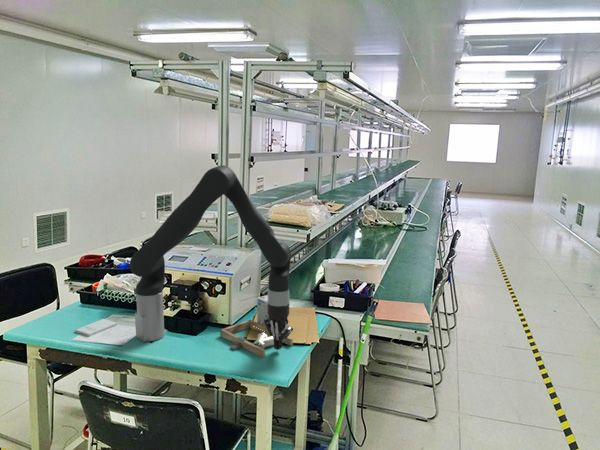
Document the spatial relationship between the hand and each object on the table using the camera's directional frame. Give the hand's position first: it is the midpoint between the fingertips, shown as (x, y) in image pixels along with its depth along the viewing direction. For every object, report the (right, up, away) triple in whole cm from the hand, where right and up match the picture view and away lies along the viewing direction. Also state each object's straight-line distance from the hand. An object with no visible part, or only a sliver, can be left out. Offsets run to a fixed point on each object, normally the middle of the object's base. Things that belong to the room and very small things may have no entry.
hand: (277, 348), depth 162 cm
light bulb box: (-4, +3, +23) cm, 24 cm away
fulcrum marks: (-9, +1, +9) cm, 12 cm away
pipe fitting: (-5, -1, +4) cm, 6 cm away
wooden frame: (-9, +1, +9) cm, 12 cm away
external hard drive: (-71, +3, +17) cm, 73 cm away
